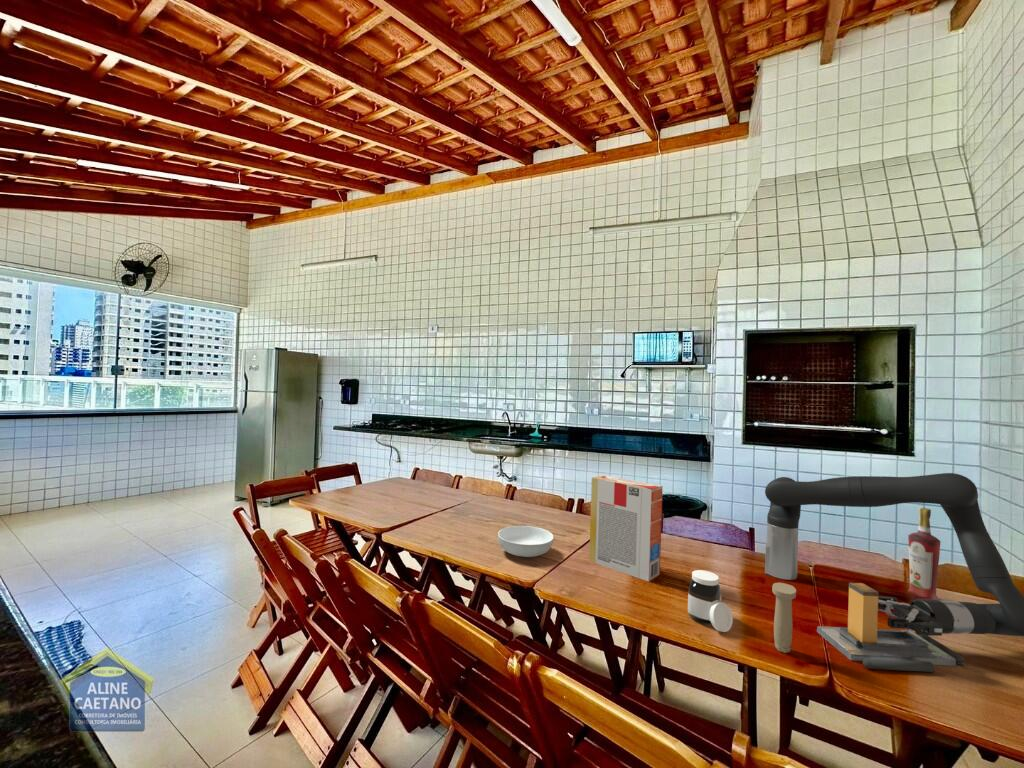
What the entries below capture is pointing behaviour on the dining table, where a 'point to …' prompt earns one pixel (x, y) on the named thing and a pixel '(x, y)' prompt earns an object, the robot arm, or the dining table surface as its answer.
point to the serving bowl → (525, 540)
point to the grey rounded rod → (899, 665)
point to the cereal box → (626, 526)
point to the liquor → (923, 559)
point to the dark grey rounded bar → (944, 649)
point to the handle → (783, 616)
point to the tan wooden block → (863, 612)
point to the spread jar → (708, 601)
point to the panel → (886, 646)
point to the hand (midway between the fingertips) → (874, 613)
